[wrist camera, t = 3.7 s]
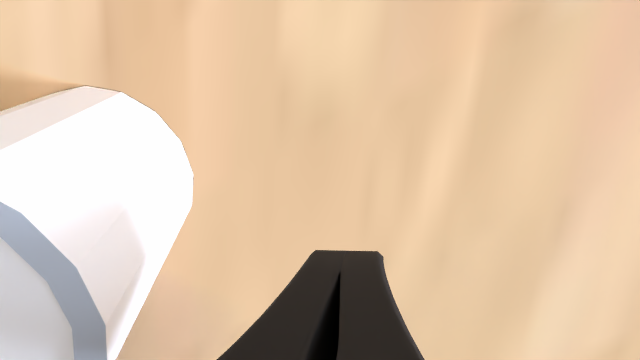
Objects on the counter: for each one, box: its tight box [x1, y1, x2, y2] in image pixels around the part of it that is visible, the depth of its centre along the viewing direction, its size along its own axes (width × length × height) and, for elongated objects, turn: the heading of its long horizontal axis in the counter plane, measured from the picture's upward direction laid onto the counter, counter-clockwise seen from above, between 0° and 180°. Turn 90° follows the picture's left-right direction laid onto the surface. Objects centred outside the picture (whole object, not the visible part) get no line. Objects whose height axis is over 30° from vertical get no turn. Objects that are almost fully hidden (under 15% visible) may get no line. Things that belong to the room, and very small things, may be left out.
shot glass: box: [0, 86, 193, 360], centre depth 14 cm, size 7×7×7 cm
